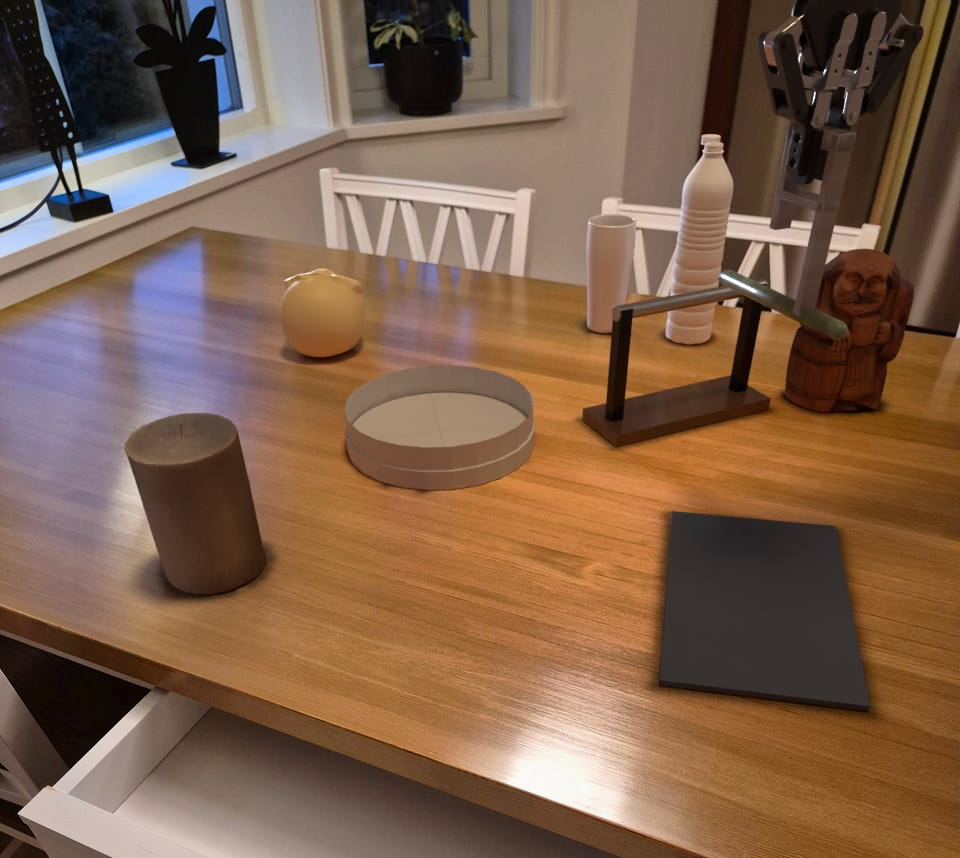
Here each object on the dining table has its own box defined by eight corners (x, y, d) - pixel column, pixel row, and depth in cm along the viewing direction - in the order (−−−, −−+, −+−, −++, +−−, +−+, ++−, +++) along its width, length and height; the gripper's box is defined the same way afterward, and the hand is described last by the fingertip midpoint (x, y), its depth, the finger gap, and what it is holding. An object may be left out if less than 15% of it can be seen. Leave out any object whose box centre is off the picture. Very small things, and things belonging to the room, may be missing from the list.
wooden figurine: (789, 412, 106) (823, 259, 95) (778, 391, 111) (810, 242, 99) (887, 413, 105) (934, 259, 94) (872, 391, 110) (915, 242, 99)
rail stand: (768, 409, 107) (794, 287, 97) (616, 447, 100) (627, 319, 91) (729, 385, 113) (749, 267, 103) (582, 419, 106) (589, 296, 96)
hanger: (850, 340, 68) (903, 143, 60) (834, 344, 68) (885, 145, 59) (728, 282, 80) (758, 109, 71) (714, 284, 79) (741, 110, 70)
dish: (351, 499, 92) (345, 457, 89) (343, 410, 109) (338, 372, 106) (553, 479, 95) (554, 438, 92) (515, 395, 111) (515, 358, 108)
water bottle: (712, 345, 123) (743, 147, 107) (666, 344, 124) (690, 147, 108) (707, 323, 130) (735, 133, 113) (663, 322, 130) (685, 134, 114)
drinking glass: (576, 333, 128) (581, 224, 118) (588, 317, 132) (595, 212, 123) (620, 338, 126) (630, 228, 116) (632, 322, 130) (642, 215, 121)
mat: (671, 515, 89) (672, 510, 88) (834, 530, 86) (835, 525, 86) (658, 685, 69) (659, 680, 69) (868, 711, 67) (870, 706, 66)
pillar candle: (282, 543, 86) (253, 402, 76) (240, 602, 79) (203, 454, 69) (193, 533, 88) (154, 394, 78) (144, 589, 81) (95, 443, 71)
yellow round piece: (376, 335, 129) (368, 259, 122) (353, 367, 120) (343, 287, 113) (303, 332, 130) (291, 257, 123) (275, 363, 121) (260, 284, 114)
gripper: (830, -119, 51) (769, 201, 62) (1000, -119, 55) (915, 181, 66) (751, -115, 56) (708, 180, 67) (911, -115, 60) (846, 163, 71)
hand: (811, 179), depth 67 cm, fingers closed on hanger, 1 cm apart
